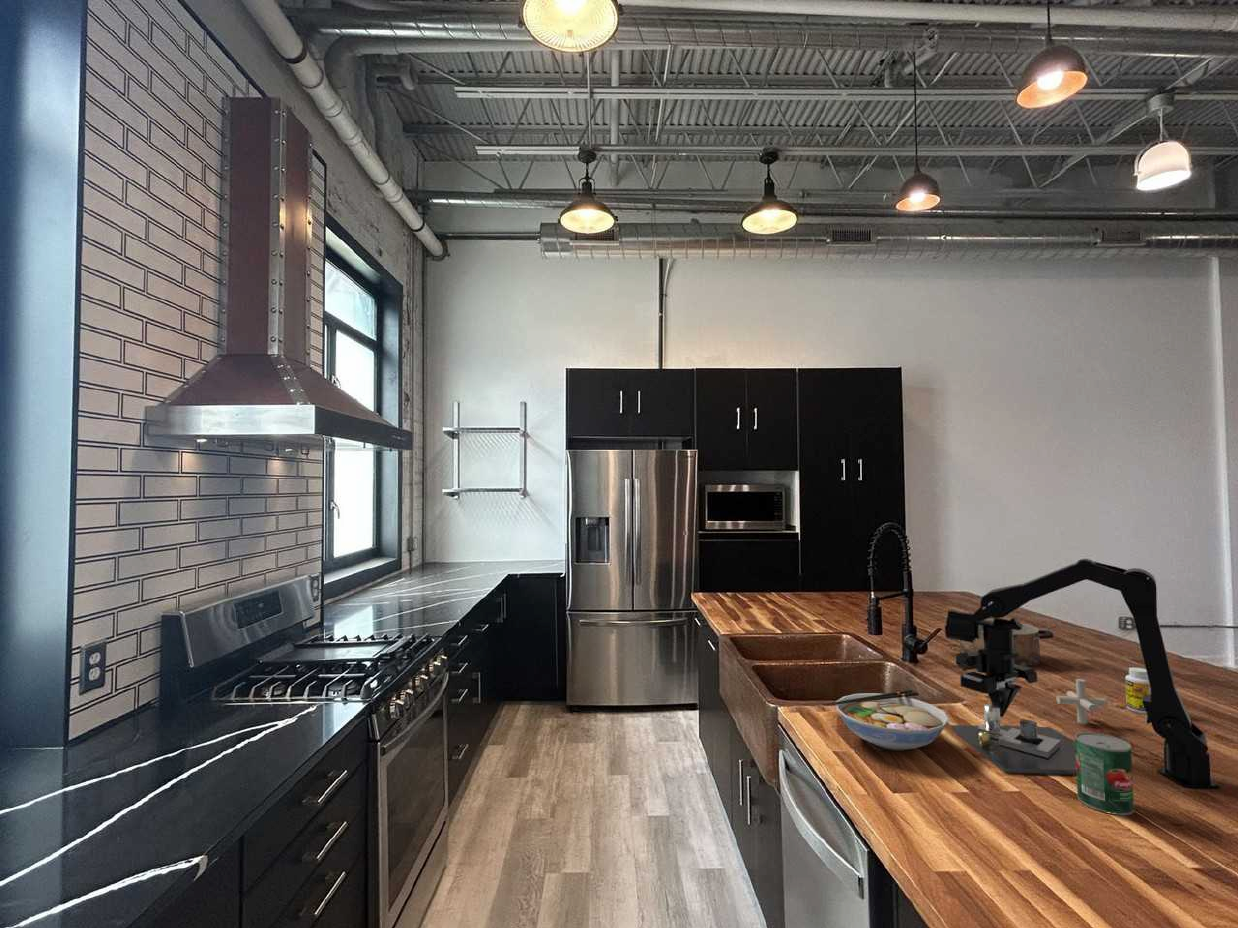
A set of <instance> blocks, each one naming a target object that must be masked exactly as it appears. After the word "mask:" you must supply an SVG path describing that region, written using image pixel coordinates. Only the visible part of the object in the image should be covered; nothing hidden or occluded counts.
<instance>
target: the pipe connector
mask: <svg viewBox="0 0 1238 928" xmlns="http://www.w3.org/2000/svg"><path fill="white" fill-rule="evenodd" d="M1075 683H1076V684H1075V690H1076V692H1074V691H1072V690H1068V691H1066V694H1065V695H1057V696H1056V703H1057V704H1058V705H1073V706H1074V705H1076V717H1077V718H1076V719H1077V723H1078V724H1082V725H1087V724H1088V713H1087V711H1088V712H1090V713H1093V714H1094V713H1097V712H1098V711H1099V708H1098V707H1108V700H1107V699H1106V698H1104V697H1103V698H1102V697H1101V698H1100V697H1087V688H1086V687H1087V686H1086V685H1087V683H1086V680H1085V679H1082V678H1076V679H1075Z"/></svg>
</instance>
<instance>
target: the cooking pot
mask: <svg viewBox="0 0 1238 928" xmlns="http://www.w3.org/2000/svg"><path fill="white" fill-rule="evenodd" d="M983 621H994V619H991V618H987V619H985V620H983ZM1020 623H1021V622H1020ZM1021 624H1023V628H1022V629H1021V630H1014V629H1013V652H1017V653H1018V657H1017V658H1013V659H1014V664H1017V665H1021V666H1025V667H1029V668H1034V667H1037V666H1038V665H1040V663H1041V656H1040V655H1041V653H1040V652H1041V651H1040V650H1041V649H1040V640H1043V639H1053V638H1054V632H1053V631H1051V630H1043V629H1042V630H1041V629H1039V628H1038V627H1035V626H1034V625H1031V624H1030V625H1029V624H1026V623H1021ZM981 627H982V634H981V639H977V638H976V641H975V643H972V642H965V641H959V653H965V652H966V653H967V654H968V655H975V654H978V650H979V649H982V648H984V644H983V625H981Z"/></svg>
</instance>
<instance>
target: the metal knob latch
mask: <svg viewBox="0 0 1238 928" xmlns="http://www.w3.org/2000/svg"><path fill="white" fill-rule="evenodd" d="M983 717H984V718H983V719H984V720H983V722H984V724H981V725H978V726H979V727H978V728H977V733H978V732H980V731H982V732H987V733H989V737H992V738H996V739H998V744H999V745H1003V746H1006V747H1010V748H1013V749H1017V750H1021V751H1024V752H1028V753H1031V754H1035V755H1039V756H1042V757H1046V758H1049V757H1050V756H1051V755H1052V754H1053V753H1054V752H1055V751H1056V750H1057V749H1058V748H1059V747H1060V746H1061V740H1058V739H1054V738H1050V737H1046V736H1042V735H1039V734H1037V736H1038V744H1039V745H1035V744H1031V743H1027V742H1023V741H1020V739H1021V732H1020V730H1019V729H1015V728H1011V729H1010V730H1009V731H1005V730H1001V729H1000V726H1001V717H1000V707H999V706H997V705H993V704H992V703H985V704H984V705H983Z"/></svg>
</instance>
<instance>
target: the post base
mask: <svg viewBox="0 0 1238 928" xmlns="http://www.w3.org/2000/svg"><path fill="white" fill-rule="evenodd" d="M1019 723H1020V724H1019V725H1020V726H1017V725H1016V726H1011V725H1010V726H1009V725H1006V726H1005V725H1000V729H1001V730H1005V731H1009V730H1010V729H1011V728H1015V729H1019V730H1020V732H1021V739H1020V741H1023V742H1027V743H1031V744H1035V745H1039V744H1038V736H1037V734H1039V735H1042V736H1046V737H1050V738H1054V739H1058V740H1061V746H1060V747H1059V748H1058V749H1057V750H1056V751H1055V752H1054V753H1053V754H1052V755H1051V756H1050V757H1049V758H1046V757H1042V756H1039V755H1035V754H1031V753H1028V752H1024V751H1021V750H1017V749H1013V748H1010V747H1006V746H1003V745H999V744H998V739H996V738H992V737H989V733H987V732H982V731H980V732H978V733H977V728H978V727H979V726H980V725H967V724H966V725H965V724H963V725H960V724H959V725H958V724H957V725H956V724H951V731H953V732H954V733H955V734H956V735H958V737H960V738H961V739H962V740H963V741H965V742H966V743H967V744H968V745H970V746H971V747H972V748H973V749H975V750H976V751H977V752H978V753H980V754H981V755H982V756H983V757H984V758H985V759H987V760H988V761H990V762H991V763H992V764H993V765H995V767H997V768H998V769H999V770H1000V771H1002V772H1003V773H1004V774H1009V775H1010V774H1011V775H1012V774H1015V775H1016V774H1018V775H1051V776H1052V775H1056V776H1057V775H1059V776H1061V775H1063V776H1077V770H1076V747H1075V740H1073V739H1071V738H1069V737H1068V736H1065V735H1064V734H1062V733H1061V732H1058V730H1056V729H1054V728H1052V727H1051V726H1038V723H1037V721H1034V720H1030V719H1020V720H1019Z"/></svg>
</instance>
